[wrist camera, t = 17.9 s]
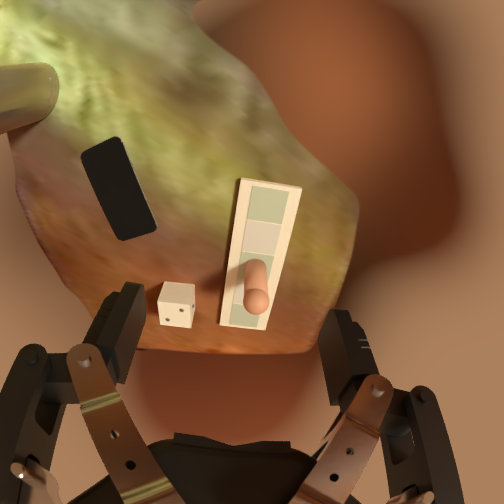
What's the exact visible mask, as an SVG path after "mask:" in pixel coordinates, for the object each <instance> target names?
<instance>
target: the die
mask: <svg viewBox="0 0 504 504" xmlns="http://www.w3.org/2000/svg"><path fill="white" fill-rule="evenodd" d="M157 303H158V310H159V318H160V325H168V326H177V327H185V328H191V325H192V320H193V316H194V311H195V284H185V283H175V282H164V284H163V287H162V290H161V292H160V295H159V298H158V301H157Z"/></svg>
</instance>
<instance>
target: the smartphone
mask: <svg viewBox="0 0 504 504" xmlns="http://www.w3.org/2000/svg"><path fill="white" fill-rule="evenodd" d="M81 160H82V163H83V165H84V168H85V170H86V172H87V175H88V177H89V179H90V182H91V184H92V186H93V188H94V191H95V193H96V195H97V197H98V200H99V202H100V204H101V206H102V208H103V210H104V212H105V214H106V216H107V219H108V221H109V223H110V225H111V227H112V229H113V231H114V233H115V235H116V237H117V238H118V239H119V240H122V241H125V240H128V239H131V238H135V237H138V236H141V235H144V234H148V233H151V232H154V231H155V230H156V229H157V223H156V221H155V218H154V216H153V214H152V211H151V209H150V207H149V204H148V202H147V200H146V197H145V195H144V193H143V190H142V188H141V186H140V183H139V181H138V178H137V176H136V173H135V170H134V167H133V165H132V162H131V160H130V158H129V156H128V153H127V150H126V148H125V145H124V143H123V140H122V139H121V138H120V137H118V136H115V137H112V138H110V139H108V140H106V141H104V142H102V143H100V144H98V145H96V146H94V147H92V148H90V149H88V150H86V151H84V152H83V153H82V155H81Z"/></svg>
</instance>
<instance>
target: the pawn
mask: <svg viewBox="0 0 504 504" xmlns="http://www.w3.org/2000/svg"><path fill="white" fill-rule="evenodd" d="M243 305H244V308H245V309H246V311H247V312H249V313H250V314H253V315H259V314H262V313H264V312H265V311H266V310H267V309H268V307H269V297H268V284H267V271H266V264H265V263H264V262H263V261H262V260H260V259H251V260H249V261H248V262H247V263H246V264H245V267H244V298H243Z"/></svg>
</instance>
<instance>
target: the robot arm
mask: <svg viewBox="0 0 504 504" xmlns="http://www.w3.org/2000/svg"><path fill="white" fill-rule="evenodd" d="M58 93H59V81H58V76H57V74H56V71H55V70H54V69H53V67H51V66H50V65H49V64H46V63H27V64H13V65H3V66H0V134H3V133H6V132H8V131H11V130H14V129H16V128H19V127H22V126H25V125H28V124H31V123H34V122H37V121H40V120H42V119H44V118H45V117H46V116H47V115H48V114H49V113H50V112H51V111H52V109H53V108H54V106H55V104H56V101H57V98H58ZM145 319H146V303H145V291H144V285H143V284H138V283H132V282H126V283H125V284H124V286H123V288H122V290H121V292H120V293H119V292H112V293H111V294H110V295H109V296H107V297H106V298H105V299H104V301H103V303H102V305H101V307H100V309H99V311H98V313H97V316H96V317H95V318H94V320H93V322H92V324H91V326H90V328H89V330H88V332H87V335H86V336H85V338H84V341H83V342H82V344H78V345H76V346H74V347H73V348H71V349H70V351H69V352H68V353H53V354H52V353H47V352H46V350H45V348H44V347H43V346H41V345H39V344H29V345H26V346H25V347H23V348H22V349H21V350H20V351H19V353H18V355H17V357H16V359H15V361H14V363H13V365H12V367H11V370H10V372H9V374H8V376H7V378H6V381H5V383H4V385H3V388H2V390H1V393H0V504H62V502H61V500H60V498H59V487H58V483H57V480H56V478H55V477H54V476H53V475H52V474H51V473H50V472H49V471H50V466H51V461H52V457H53V453H54V449H55V444H56V441H57V437H58V433H59V429H60V425H61V422H62V418H63V415H64V411H65V408H66V405H67V404H80V405H81V407H80V409H81V413H82V416H83V418H84V421H85V423H86V426H87V428H88V431H89V433H90V435H91V438H92V440H93V442H94V444H95V447H96V449H97V451H98V453H99V455H100V457H101V459H102V462H103V463H104V466H105V467H106V470H107V471H108V473H109V475H107V476H106V477H105V478H103V479H102V480H100V481H99V482H98V483H96V484H95V485H93V486H92V487H90V488H89V489H87V490H86V491H85V492H83V493H82V494H80V495H79V496H77V497H76V498H75V499H73V500H71V501H70V502H69V503H68V504H361V503H360V502H359V501H358V500H357V499H355V498H354V497H353V496H352V495H351V494H350V493H351V491H352V490H353V488H354V486H355V484H356V483H357V481H358V479H359V477H360V475H361V474H362V472H363V470H364V468H365V466H366V464H367V462H368V460H369V458H370V456H371V454H372V452H373V450H374V448H375V446H376V444H377V442H378V440H379V437H380V438H381V443H382V449H383V454H384V460H385V466H386V473H387V479H388V486H389V494H390V500H388V502H387V503H386V504H464V498H463V494H462V488H461V484H460V479H459V475H458V471H457V466H456V463H455V459H454V455H453V451H452V447H451V444H450V440H449V437H448V433H447V430H446V427H445V423H444V420H443V417H442V414H441V411H440V408H439V405H438V402H437V399H436V396H435V394H434V393H433V392H432V391H431V390H430V389H429V388H427V387H425V386H416V387H414V388H413V389H412V390H411V391H410V392H407V391H403V390H399V389H395V388H393V386H392V384H391V382H390V381H389V380H388V379H387V378H385V377H383V376H381V375H380V374H379V371H378V368H377V366H376V363H375V360H374V357H373V354H372V351H371V349H370V346H369V343H368V341H367V338H366V335H365V332H364V330H363V329H362V328H361V327H360V325H359V324H358V323H357V322H352V319H351V316H350V314H349V312H348V310H344V309H330V310H329V312H328V314H327V316H326V319H325V321H324V323H323V326H322V328H321V330H320V332H319V336H318V347H319V351H320V356H321V361H322V365H323V371H324V375H325V380H326V385H327V391H328V396H329V401H330V406H336V405H339V406H340V412H339V413H338V414H337V416H336V418H335V419H334V421H333V422H332V424H331V425H330V427H329V429H328V430H327V432H326V433H325V435H324V436H323V438H322V439H321V441H320V442H319V444H318V445H317V446H316V448H315V449H314V450H313V451H312V452H311V454H310V455H307V454H305V453H303V452H301V451H299V450H296V449H293V448H291V446H290V441H260V442H255V443H249V444H243V445H237V446H231V445H228V444H225V443H221V442H218V441H215V440H212V439H209V438H206V437H203V436H196V435H189V434H182V433H174V439H166V440H161V441H158V442H154V443H152V444H150V445H148V446H147V445H146V444H145V442H144V440H143V438H142V437H141V435H140V433H139V431H138V429H137V428H136V426H135V424H134V422H133V420H132V418H131V416H130V414H129V413H128V411H127V409H126V407H125V405H124V403H123V401H122V399H121V397H120V395H119V394H118V392H117V390H116V388H115V387H116V383H121V384H125V381H126V378H127V375H128V372H129V369H130V366H131V363H132V359H133V356H134V353H135V350H136V347H137V344H138V342H139V339H140V336H141V333H142V330H143V327H144V324H145ZM411 433H412V435H411ZM412 437H413V439H412ZM413 441H414V443H413Z"/></svg>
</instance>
